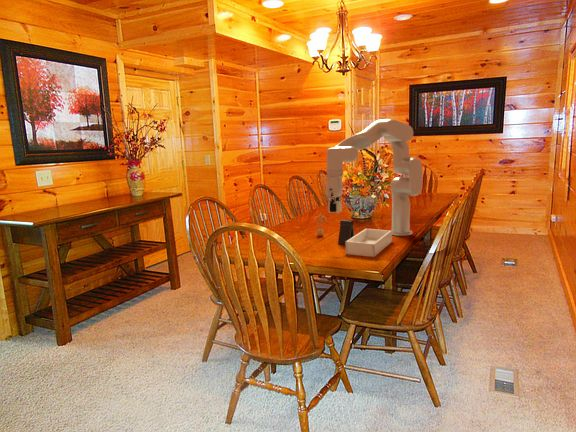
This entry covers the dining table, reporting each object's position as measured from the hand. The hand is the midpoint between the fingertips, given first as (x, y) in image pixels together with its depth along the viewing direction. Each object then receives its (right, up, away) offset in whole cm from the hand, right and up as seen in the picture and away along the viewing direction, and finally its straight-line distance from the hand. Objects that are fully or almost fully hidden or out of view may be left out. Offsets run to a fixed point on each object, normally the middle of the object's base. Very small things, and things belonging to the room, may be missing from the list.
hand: (335, 210), depth 209 cm
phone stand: (+8, -17, +14) cm, 23 cm away
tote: (+18, -18, +3) cm, 26 cm away
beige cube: (0, -1, 0) cm, 1 cm away
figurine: (-5, -14, +32) cm, 35 cm away
